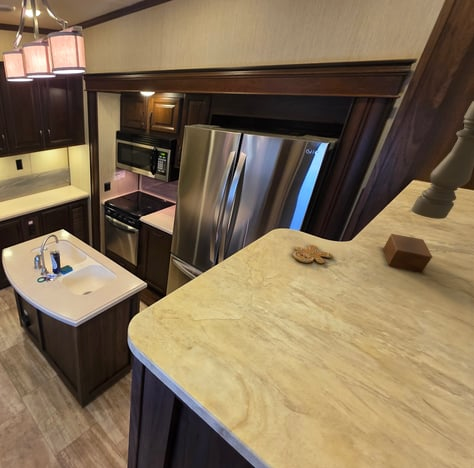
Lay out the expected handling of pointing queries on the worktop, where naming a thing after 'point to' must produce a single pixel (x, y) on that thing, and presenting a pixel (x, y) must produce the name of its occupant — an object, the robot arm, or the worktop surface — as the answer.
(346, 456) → the worktop surface
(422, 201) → the candle holder
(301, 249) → the cookie
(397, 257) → the brown wooden block
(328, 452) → the worktop surface
